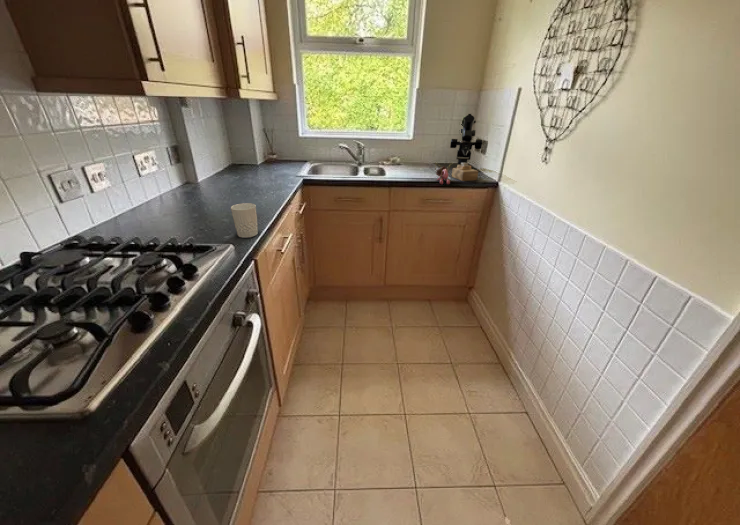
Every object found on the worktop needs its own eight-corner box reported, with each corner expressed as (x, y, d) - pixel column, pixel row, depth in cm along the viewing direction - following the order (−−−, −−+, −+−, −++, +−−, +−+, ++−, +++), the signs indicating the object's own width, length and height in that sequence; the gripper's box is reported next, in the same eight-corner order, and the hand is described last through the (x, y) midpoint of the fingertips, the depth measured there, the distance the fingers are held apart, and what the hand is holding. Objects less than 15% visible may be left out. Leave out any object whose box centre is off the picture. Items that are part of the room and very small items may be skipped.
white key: (460, 165, 198) (461, 162, 197) (465, 165, 199) (465, 162, 198) (463, 166, 196) (463, 163, 195) (467, 166, 196) (468, 163, 196)
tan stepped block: (451, 176, 201) (452, 165, 198) (465, 175, 204) (467, 164, 201) (462, 181, 191) (463, 168, 188) (477, 180, 194) (478, 167, 191)
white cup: (243, 240, 110) (238, 211, 105) (231, 234, 114) (226, 206, 110) (264, 234, 115) (260, 206, 111) (252, 228, 120) (247, 201, 115)
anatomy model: (437, 180, 178) (436, 155, 182) (433, 192, 191) (432, 169, 195) (456, 180, 178) (455, 155, 182) (450, 192, 191) (449, 169, 195)
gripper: (452, 124, 199) (450, 146, 194) (484, 125, 195) (483, 147, 191) (451, 137, 209) (449, 157, 205) (481, 138, 206) (480, 159, 201)
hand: (465, 155), depth 200 cm, fingers closed
